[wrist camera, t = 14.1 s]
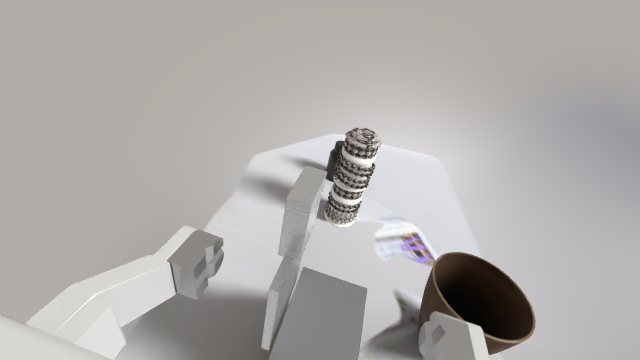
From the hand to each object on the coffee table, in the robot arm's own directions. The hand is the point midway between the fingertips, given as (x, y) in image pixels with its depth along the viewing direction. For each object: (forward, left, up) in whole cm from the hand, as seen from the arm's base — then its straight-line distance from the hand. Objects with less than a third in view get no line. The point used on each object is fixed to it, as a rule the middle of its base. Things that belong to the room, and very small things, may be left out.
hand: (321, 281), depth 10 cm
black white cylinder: (+50, 0, -40) cm, 64 cm away
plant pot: (+25, -24, -40) cm, 53 cm away
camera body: (+13, -2, -40) cm, 42 cm away
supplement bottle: (+68, +5, -40) cm, 79 cm away
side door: (+13, +4, -27) cm, 30 cm away
